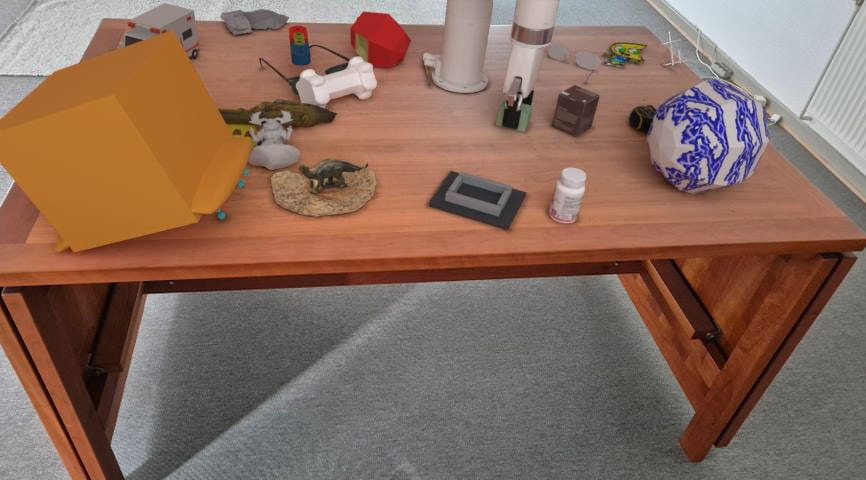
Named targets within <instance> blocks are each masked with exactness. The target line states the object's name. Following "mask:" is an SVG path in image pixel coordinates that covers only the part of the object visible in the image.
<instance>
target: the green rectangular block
mask: <svg viewBox="0 0 866 480" xmlns="http://www.w3.org/2000/svg"><path fill="white" fill-rule="evenodd" d="M506 101H507V98H504V99H503V101H502V102H501V104H499V106H498V111H497V116H496V123H495V125H496V126H499V127H503V126H502V120H503V114H504V108H505V105H506ZM517 104H518V102H517ZM520 110H521V116H520V121H519V126H518V129H516V130H515V129H513V130H514V131H518V132H522V133H525V132H526V130H527V129H528V127H529V125H530V123H531V120H532V119H531V118H532V113H533V110H534V105H532V104H531V105H527V104H523V103H522V104H521V108H520ZM503 128H504V127H503ZM505 128H507V127H505ZM507 129H508V128H507ZM509 129H510V130H512V129H511V128H509Z"/></svg>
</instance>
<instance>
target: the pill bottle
mask: <svg viewBox="0 0 866 480" xmlns="http://www.w3.org/2000/svg"><path fill="white" fill-rule="evenodd" d="M586 180H587V173H585V171H583V170H582V169H580V168H577V167H565V168H563V169H562V171H561V173H560V177H559V179H558V180H557V181H556V183H555V186H554V191H553V194H552V199H551V202H550V205H549V210H548V214H549V216H550V217H549V218H551V219H552V220H553V221H555V222H557V223H561V224H572V223H574V222H575V221H577V220H578V219H577V218H578V216H579V212H580V209H581V205H582V202H583V199H584V196H585V192H586V185H585V184H586Z"/></svg>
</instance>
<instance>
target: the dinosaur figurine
mask: <svg viewBox="0 0 866 480" xmlns="http://www.w3.org/2000/svg"><path fill="white" fill-rule="evenodd" d="M368 168H369V163H368V162H367V163H365V165H364V164H362V163H352V162H351V161H348V160H345V159H343V158H326V159H323V160H320V161H318V162H317V163H316V164H315V165H313V166H312V167H310V168H309V167H308V166H306V165H305V164H300V165H299V167H298V172H293V171H291V170H288V169H286V170H285V171H278V172H276V173H273V175H272V176H271V177H270V179H269V180H270V185H271V187H272V191H271V192H272V194H273V199H274V202H275V203H276V204H277V205H278V206H280V207H281V208H282V209H286V210H289V211H291V212H294V213H295V214H299V215H303V216H309V217H312V218H314V217H315V218H317V217H322V216H332V215H341V214H347V213H352V212H356V211H358V210H359V209H361V208H362V207H364V206H365V205H366V204H367V202H368V201H370V200H371V199H372V198H373V196H374V194H375V190H376V189H375V188H376V186H378V183H377V179H376V175H375V171H374V170H369V169H368Z"/></svg>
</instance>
